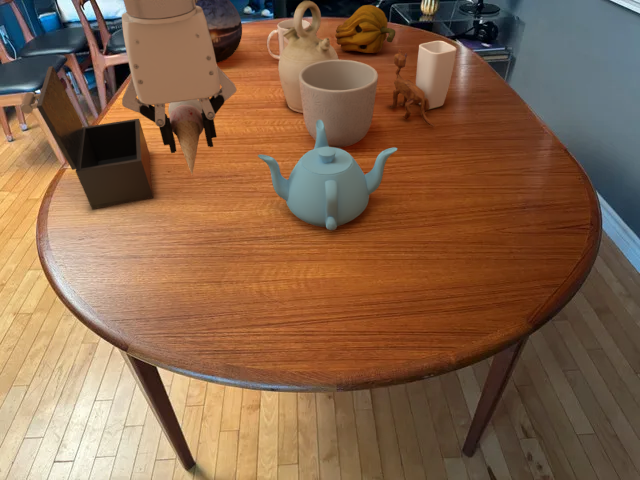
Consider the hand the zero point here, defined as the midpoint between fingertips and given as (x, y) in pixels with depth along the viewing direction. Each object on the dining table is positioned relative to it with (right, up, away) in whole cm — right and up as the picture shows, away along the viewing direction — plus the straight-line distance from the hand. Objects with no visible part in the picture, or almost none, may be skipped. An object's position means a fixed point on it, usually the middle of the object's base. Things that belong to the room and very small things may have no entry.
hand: (191, 144), depth 64 cm
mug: (+9, +42, +81) cm, 92 cm away
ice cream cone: (0, 0, 0) cm, 1 cm away
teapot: (+19, -6, +28) cm, 34 cm away
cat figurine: (+41, +18, +53) cm, 69 cm away
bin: (-24, 0, +35) cm, 42 cm away
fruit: (+33, +48, +87) cm, 104 cm away
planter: (+22, +11, +46) cm, 52 cm away
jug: (+15, +23, +59) cm, 65 cm away
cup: (+46, +22, +58) cm, 77 cm away
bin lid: (-30, +10, +23) cm, 39 cm away
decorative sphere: (-16, +43, +83) cm, 95 cm away
